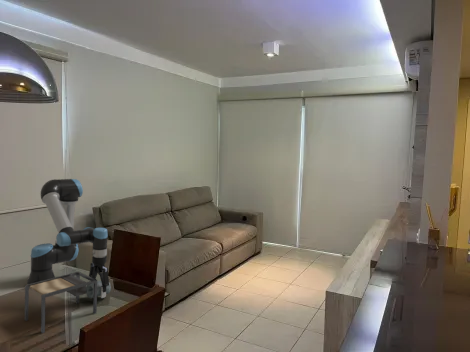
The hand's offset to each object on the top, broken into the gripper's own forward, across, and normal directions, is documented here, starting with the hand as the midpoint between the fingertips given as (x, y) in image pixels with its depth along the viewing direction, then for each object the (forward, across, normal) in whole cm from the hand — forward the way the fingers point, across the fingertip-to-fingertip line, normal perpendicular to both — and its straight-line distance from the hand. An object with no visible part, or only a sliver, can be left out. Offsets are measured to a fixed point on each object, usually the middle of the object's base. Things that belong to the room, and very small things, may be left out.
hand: (98, 294), depth 198 cm
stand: (+3, +5, -23) cm, 24 cm away
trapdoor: (-9, +5, -25) cm, 27 cm away
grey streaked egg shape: (+1, 0, 0) cm, 1 cm away
